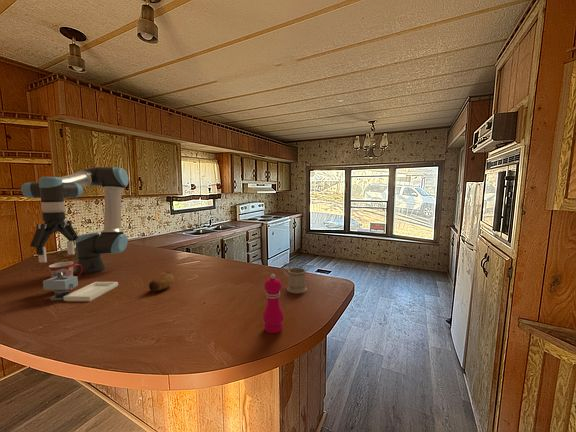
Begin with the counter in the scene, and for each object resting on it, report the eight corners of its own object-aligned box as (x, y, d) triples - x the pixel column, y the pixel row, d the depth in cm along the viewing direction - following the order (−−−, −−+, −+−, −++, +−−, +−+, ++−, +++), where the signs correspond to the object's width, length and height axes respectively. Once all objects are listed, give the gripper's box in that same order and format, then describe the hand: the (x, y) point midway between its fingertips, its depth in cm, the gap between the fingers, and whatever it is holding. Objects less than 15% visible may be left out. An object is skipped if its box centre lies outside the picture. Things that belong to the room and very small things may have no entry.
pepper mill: (263, 323, 92) (262, 271, 90) (282, 322, 92) (282, 270, 90) (263, 334, 85) (262, 277, 83) (284, 333, 85) (283, 277, 83)
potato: (156, 299, 120) (143, 290, 120) (174, 283, 132) (162, 275, 132) (161, 289, 117) (147, 280, 117) (179, 274, 129) (166, 265, 129)
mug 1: (56, 295, 117) (53, 268, 116) (48, 292, 122) (45, 265, 120) (87, 286, 129) (85, 261, 127) (79, 283, 133) (76, 259, 131)
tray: (95, 285, 129) (95, 281, 129) (118, 285, 129) (117, 281, 129) (63, 301, 112) (63, 296, 111) (90, 301, 111) (89, 296, 111)
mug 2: (310, 288, 124) (310, 265, 123) (297, 295, 117) (297, 270, 116) (289, 281, 134) (289, 260, 133) (276, 287, 127) (276, 264, 126)
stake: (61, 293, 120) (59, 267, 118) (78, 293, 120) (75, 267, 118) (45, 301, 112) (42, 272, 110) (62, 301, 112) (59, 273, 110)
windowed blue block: (43, 289, 112) (42, 281, 112) (57, 284, 118) (56, 276, 118) (69, 289, 112) (68, 281, 111) (81, 284, 118) (80, 276, 118)
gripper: (70, 209, 124) (73, 251, 126) (14, 214, 99) (20, 265, 101) (85, 209, 124) (88, 251, 126) (32, 213, 99) (37, 265, 101)
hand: (57, 258), depth 114 cm, fingers open, 13 cm apart
